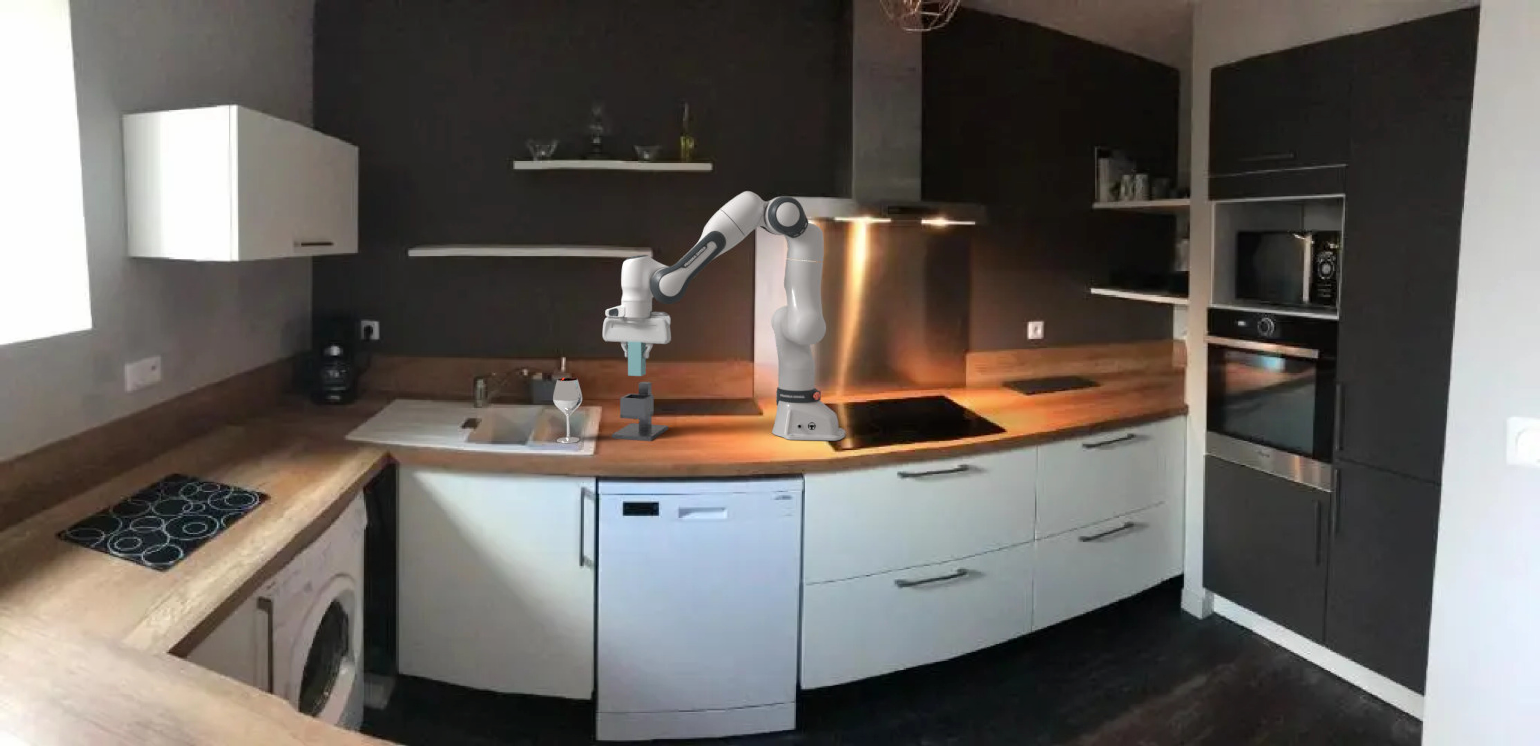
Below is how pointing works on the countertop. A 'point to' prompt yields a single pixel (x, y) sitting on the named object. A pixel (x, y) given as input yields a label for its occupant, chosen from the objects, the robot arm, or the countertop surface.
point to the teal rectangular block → (636, 359)
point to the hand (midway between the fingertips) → (636, 357)
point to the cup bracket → (639, 415)
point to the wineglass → (567, 402)
